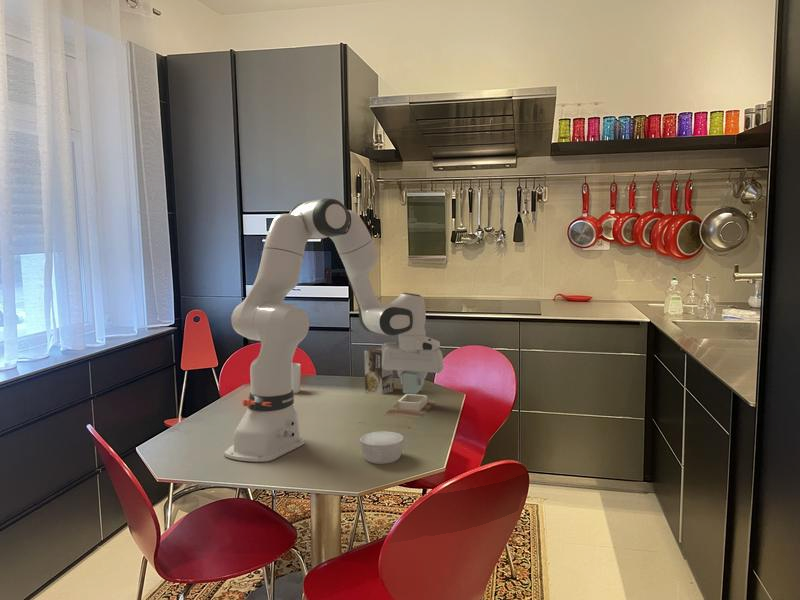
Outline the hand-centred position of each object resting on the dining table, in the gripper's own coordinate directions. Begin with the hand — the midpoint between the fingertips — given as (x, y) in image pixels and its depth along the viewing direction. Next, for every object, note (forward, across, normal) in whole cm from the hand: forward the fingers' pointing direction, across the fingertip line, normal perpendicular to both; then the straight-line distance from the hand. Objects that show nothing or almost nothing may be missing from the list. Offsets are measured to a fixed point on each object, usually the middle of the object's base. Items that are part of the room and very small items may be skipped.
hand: (412, 384), depth 194 cm
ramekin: (+9, +4, -43) cm, 44 cm away
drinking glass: (+9, -49, +10) cm, 51 cm away
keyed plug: (+2, 0, 0) cm, 2 cm away
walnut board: (+8, 0, -2) cm, 9 cm away
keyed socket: (+7, 0, 0) cm, 7 cm away
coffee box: (+9, -17, +16) cm, 25 cm away
